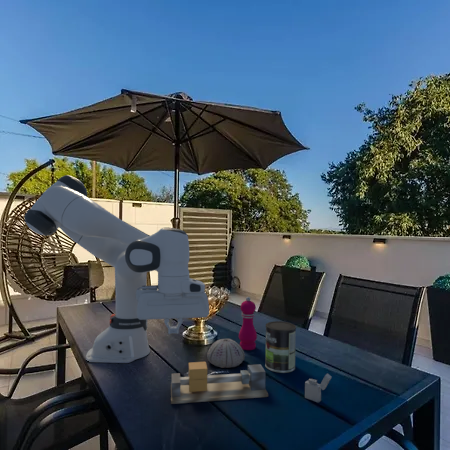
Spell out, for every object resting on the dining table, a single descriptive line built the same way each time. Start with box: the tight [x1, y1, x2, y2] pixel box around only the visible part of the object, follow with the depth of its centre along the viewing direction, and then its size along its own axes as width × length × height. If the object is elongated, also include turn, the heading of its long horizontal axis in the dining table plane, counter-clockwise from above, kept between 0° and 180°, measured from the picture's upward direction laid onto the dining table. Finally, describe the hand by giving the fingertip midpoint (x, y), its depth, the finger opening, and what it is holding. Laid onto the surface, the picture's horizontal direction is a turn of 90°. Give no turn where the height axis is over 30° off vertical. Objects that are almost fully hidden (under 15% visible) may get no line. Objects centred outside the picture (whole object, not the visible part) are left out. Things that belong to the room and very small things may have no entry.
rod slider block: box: [170, 363, 269, 405], centre depth 96 cm, size 27×10×6 cm, turn 99°
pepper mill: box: [238, 296, 258, 351], centre depth 131 cm, size 7×7×20 cm
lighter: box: [304, 373, 332, 404], centre depth 91 cm, size 7×2×8 cm, turn 51°
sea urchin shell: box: [206, 338, 246, 369], centre depth 116 cm, size 13×14×8 cm
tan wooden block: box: [188, 361, 208, 392], centre depth 95 cm, size 5×5×6 cm
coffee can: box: [264, 320, 297, 374], centre depth 113 cm, size 10×10×14 cm
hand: (173, 333), depth 94 cm, fingers closed
